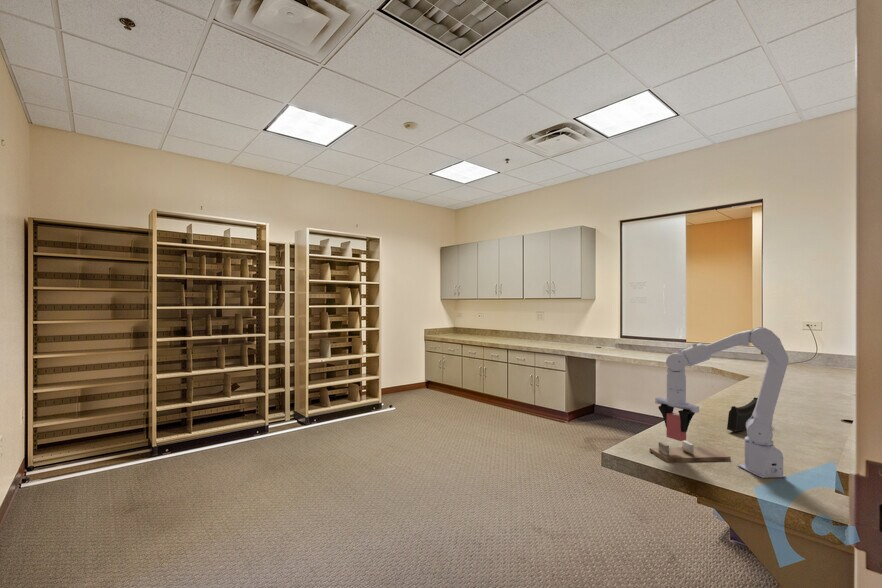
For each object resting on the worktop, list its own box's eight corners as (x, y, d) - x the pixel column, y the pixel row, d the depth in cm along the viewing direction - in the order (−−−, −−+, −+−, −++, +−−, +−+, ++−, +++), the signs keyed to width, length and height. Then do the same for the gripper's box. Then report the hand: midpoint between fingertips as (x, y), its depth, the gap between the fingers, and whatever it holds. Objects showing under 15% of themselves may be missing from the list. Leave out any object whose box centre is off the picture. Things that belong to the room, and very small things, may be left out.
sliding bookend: (685, 449, 148) (685, 440, 148) (693, 453, 144) (693, 444, 144) (682, 449, 147) (682, 440, 148) (690, 453, 143) (690, 444, 144)
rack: (708, 450, 152) (708, 438, 152) (730, 460, 142) (730, 447, 142) (649, 451, 149) (649, 439, 150) (667, 462, 140) (667, 449, 140)
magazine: (733, 412, 169) (760, 383, 186) (724, 411, 172) (751, 382, 189) (738, 452, 172) (764, 419, 189) (729, 450, 174) (756, 417, 191)
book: (686, 439, 144) (686, 415, 144) (680, 441, 142) (680, 416, 142) (672, 435, 148) (672, 412, 148) (666, 436, 147) (666, 413, 147)
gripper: (705, 391, 141) (705, 433, 141) (664, 384, 154) (664, 422, 154) (691, 393, 138) (691, 436, 137) (651, 385, 151) (651, 424, 150)
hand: (676, 429), depth 145 cm, fingers closed on book, 5 cm apart
